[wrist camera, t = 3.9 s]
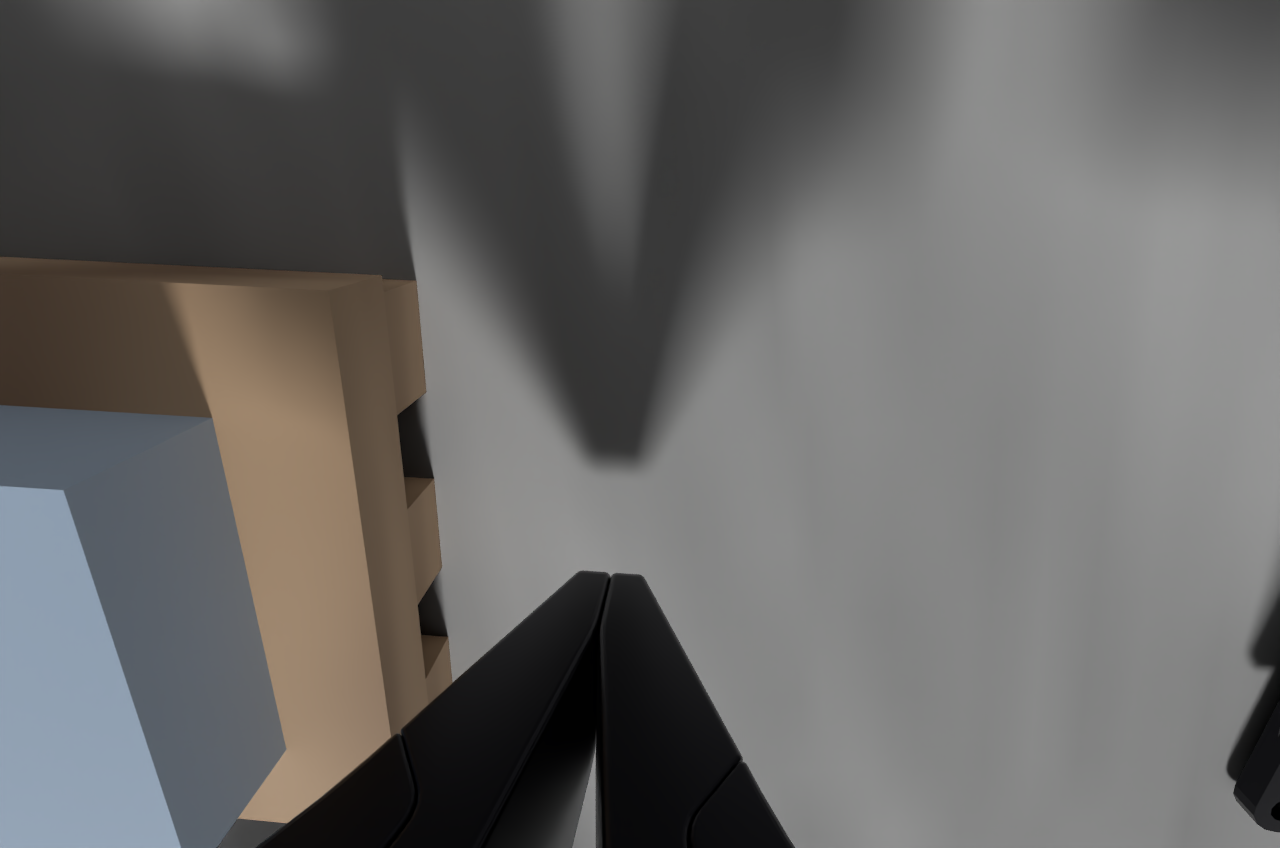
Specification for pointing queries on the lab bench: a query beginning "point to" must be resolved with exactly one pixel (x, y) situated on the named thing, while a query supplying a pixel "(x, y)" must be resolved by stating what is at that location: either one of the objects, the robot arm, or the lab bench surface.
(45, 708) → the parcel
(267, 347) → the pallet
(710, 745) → the robot arm
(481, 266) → the lab bench surface
